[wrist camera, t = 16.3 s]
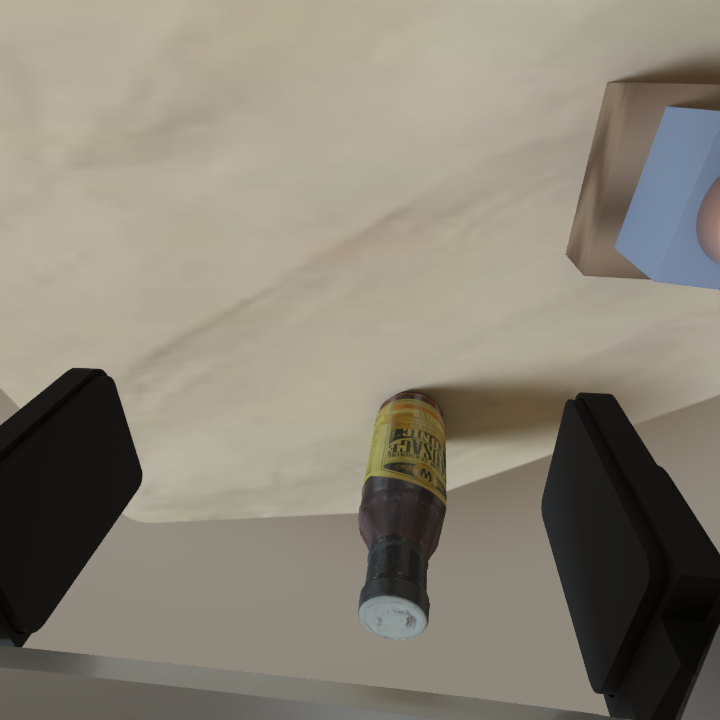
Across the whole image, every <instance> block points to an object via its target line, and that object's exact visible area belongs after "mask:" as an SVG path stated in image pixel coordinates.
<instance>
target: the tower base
mask: <svg viewBox="0 0 720 720" xmlns="http://www.w3.org/2000/svg"><path fill="white" fill-rule="evenodd" d="M666 106H667V107H678V108H690V109H702V110H713V111H720V85H717V84H676V83H636V82H635V83H607V85H606V89H605V93H604V97H603V101H602V106H601V110H600V114H599V118H598V122H597V126H596V130H595V135H594V139H593V143H592V147H591V151H590V155H589V159H588V164H587V168H586V172H585V176H584V180H583V184H582V188H581V193H580V197H579V201H578V205H577V209H576V213H575V217H574V222H573V226H572V230H571V234H570V238H569V242H568V246H567V251H566V255H567V256H568V258H569V259H570V260H571V261H572V262H573V263H574V265H575V266H576V267H577V268H578V269H579V270H580V272H581V273H582V274H583V275H584V276H598V277H616V278H633V279H650V278H649V277H648V276H647V275H646V274H644V273H643V272H642V271H641V270H640V269H638V268H637V267H636V266H635V265H634V264H632V263H631V262H630V261H629V260H628V259H626V258H625V257H624V256H623V255H622V254H620V253H619V252H618V251H617V250H616V249H615V248H614V247H615V244H616V242H617V239H618V236H619V234H620V231H621V228H622V225H623V223H624V220H625V217H626V215H627V212H628V209H629V206H630V204H631V201H632V198H633V196H634V193H635V190H636V187H637V185H638V182H639V179H640V177H641V174H642V171H643V168H644V166H645V163H646V160H647V158H648V155H649V152H650V150H651V147H652V144H653V141H654V139H655V136H656V133H657V131H658V128H659V125H660V122H661V120H662V117H663V114H664V112H665V109H666ZM651 280H652V279H651Z"/></svg>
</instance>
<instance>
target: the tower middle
mask: <svg viewBox="0 0 720 720" xmlns="http://www.w3.org/2000/svg"><path fill="white" fill-rule="evenodd" d="M719 176H720V111H713V110H702V109H690V108H678V107H667V106H666V109H665V112H664V114H663V117H662V120H661V122H660V125H659V128H658V131H657V133H656V136H655V139H654V141H653V144H652V147H651V150H650V152H649V155H648V158H647V160H646V163H645V166H644V168H643V171H642V174H641V177H640V179H639V182H638V185H637V187H636V190H635V193H634V196H633V198H632V201H631V204H630V206H629V209H628V212H627V215H626V217H625V220H624V223H623V225H622V228H621V231H620V234H619V236H618V239H617V242H616V244H615V247H614V248H615V249H616V250H617V251H618V252H619V253H620V254H622V255H623V256H624V257H625V258H626V259H628V260H629V261H630V262H631V263H632V264H634V265H635V266H636V267H637V268H638V269H640V270H641V271H642V272H643V273H644V274H646V275H647V276H648V277H649V278H650V279H652V280H653V281H654V282H662V283H670V284H678V285H686V286H694V287H702V288H710V289H718V290H720V265H719V264H717V263H715V262H714V261H712V260H711V259H710V258H709V257H708V256H707V255H706V254H705V253H704V252H703V250H702V249H701V247H700V244H699V242H698V238H697V233H696V221H697V216H698V211H699V208H700V205H701V203H702V201H703V199H704V197H705V195H706V193H707V191H708V190H709V188H710V187H711V185H712V184H713V183H714V182H715V180H716V179H717V178H718V177H719Z"/></svg>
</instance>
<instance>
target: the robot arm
mask: <svg viewBox="0 0 720 720" xmlns="http://www.w3.org/2000/svg"><path fill="white" fill-rule="evenodd" d="M141 482H142V469H141V466H140V463H139V459H138V456H137V453H136V450H135V446H134V443H133V440H132V437H131V434H130V430H129V427H128V424H127V421H126V417H125V414H124V411H123V408H122V404H121V401H120V398H119V395H118V391H117V388H116V385H115V382H114V380H113V379H112V378H111V377H109V376H107V374H106V373H105V372H104V370H101V369H90V368H72V369H70V370H68V371H67V372H66V373H64V374H63V375H62V376H61V377H59V378H58V379H57V380H56V381H55V382H53V383H52V384H51V385H50V386H48V387H47V388H46V389H45V390H43V391H42V392H41V393H40V394H39V395H37V396H36V397H35V398H34V399H32V400H31V401H30V402H29V403H27V404H26V405H25V406H24V407H23V408H21V409H20V410H19V411H18V412H16V413H15V414H14V415H13V416H11V417H10V418H9V419H8V420H7V421H5V422H4V423H3V424H2V425H0V720H625V719H629V720H720V554H719V552H718V551H717V549H716V548H715V546H714V545H713V543H712V542H711V540H710V538H709V537H708V535H707V534H706V532H705V531H704V529H703V527H702V526H701V524H700V523H699V521H698V520H697V518H696V517H695V515H694V513H693V512H692V510H691V509H690V507H689V506H688V504H687V503H686V501H685V499H684V498H683V496H682V495H681V493H680V492H679V490H678V489H677V487H676V485H675V484H674V482H673V481H672V479H671V478H670V476H669V474H668V473H667V472H666V471H665V470H664V469H663V468H662V467H660V466H658V465H657V464H656V462H655V461H654V459H653V458H652V456H651V454H650V453H649V451H648V450H647V448H646V446H645V445H644V443H643V442H642V440H641V438H640V437H639V435H638V434H637V432H636V431H635V429H634V427H633V426H632V424H631V423H630V421H629V419H628V418H627V416H626V415H625V413H624V411H623V410H622V408H621V407H620V405H619V403H618V402H617V400H616V399H615V397H614V396H613V395H611V394H600V393H579V394H578V395H577V396H576V399H575V400H572V399H569V400H567V402H566V404H565V408H564V412H563V416H562V420H561V424H560V428H559V432H558V436H557V440H556V444H555V448H554V453H553V457H552V461H551V465H550V469H549V473H548V477H547V481H546V485H545V489H544V493H543V498H542V516H543V521H544V524H545V528H546V531H547V534H548V538H549V542H550V545H551V548H552V552H553V555H554V559H555V562H556V566H557V570H558V573H559V576H560V580H561V584H562V587H563V590H564V594H565V598H566V601H567V604H568V608H569V612H570V615H571V618H572V622H573V625H574V629H575V632H576V636H577V639H578V643H579V646H580V650H581V653H582V657H583V660H584V664H585V667H586V671H587V674H588V678H589V681H590V684H591V687H592V688H593V690H594V692H595V693H598V694H604V698H605V701H606V704H607V708H608V711H609V714H610V717H608V716H603V715H598V714H591V713H584V712H576V711H568V710H562V709H554V708H547V707H539V706H532V705H524V704H517V703H509V702H502V701H494V700H487V699H479V698H471V697H463V696H454V695H445V694H436V693H428V692H419V691H411V690H401V689H393V688H384V687H375V686H367V685H359V684H350V683H341V682H332V681H324V680H316V679H307V678H298V677H289V676H280V675H270V674H262V673H253V672H243V671H235V670H225V669H217V668H208V667H198V666H188V665H180V664H171V663H162V662H153V661H143V660H134V659H125V658H116V657H107V656H97V655H87V654H78V653H68V652H58V651H49V650H39V649H29V648H22V646H23V645H24V643H25V642H26V641H27V639H28V638H29V636H30V635H31V634H32V633H34V632H37V631H38V630H39V629H40V628H41V627H42V626H43V625H44V624H45V622H46V621H47V619H48V618H49V617H50V615H51V614H52V612H53V611H54V609H55V608H56V607H57V605H58V604H59V602H60V601H61V599H62V598H63V597H64V595H65V594H66V592H67V591H68V589H69V588H70V586H71V585H72V583H73V582H74V580H75V579H76V578H77V576H78V575H79V574H80V572H81V571H82V569H83V568H84V566H85V565H86V563H87V562H88V560H89V559H90V558H91V556H92V555H93V553H94V552H95V551H96V549H97V548H98V546H99V545H100V543H101V542H102V540H103V539H104V538H105V536H106V535H107V533H108V532H109V530H110V529H111V528H112V526H113V524H114V523H115V522H116V520H117V519H118V517H119V516H120V515H121V513H122V512H123V510H124V509H125V507H126V506H127V505H128V503H129V502H130V500H131V499H132V497H133V496H134V494H135V493H136V492H137V490H138V489H139V487H140V485H141Z"/></svg>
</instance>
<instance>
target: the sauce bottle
mask: <svg viewBox="0 0 720 720" xmlns="http://www.w3.org/2000/svg"><path fill="white" fill-rule="evenodd" d="M445 513H446V446H445V424H444V421H443V415H442V413H441V411H440V409H439V408H438V406H437V405H436V404H435V402H434V401H433V400H431V399H429V398H428V397H427V396H424V395H421V394H417V393H408V392H406V393H400V394H397V395H395V396H394V397H392V398H390V399H388V400H387V401H385V402H384V403H383V404H382V406H381V408H380V411H379V413H378V415H377V417H376V419H375V424H374V430H373V435H372V441H371V446H370V452H369V457H368V462H367V468H366V473H365V478H364V483H363V488H362V501H361V505H360V507H359V530H360V534H361V536H362V538H363V540H364V542H365V543H366V545H367V547H368V550H369V554H368V569H367V576H366V583H365V586H364V587H363V589H362V591H361V593H360V600H359V610H358V614H359V619H360V621H361V623H362V624H363V626H364V627H366V628H367V629H368V630H369V631H370V632H372V633H374V634H376V635H379V636H381V637H383V638H387V639H392V640H401V639H410V638H414V637H416V636H418V635H420V634H421V633H422V632H424V630H425V628H426V627H427V625H428V620H429V607H430V603H429V598H428V595H427V592H426V589H427V579H426V578H427V569H428V561H429V559H430V557H431V556H432V554H433V553H434V552H435V550H436V548H437V546H438V542H439V538H440V534H441V530H442V526H443V521H444V518H445Z"/></svg>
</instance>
